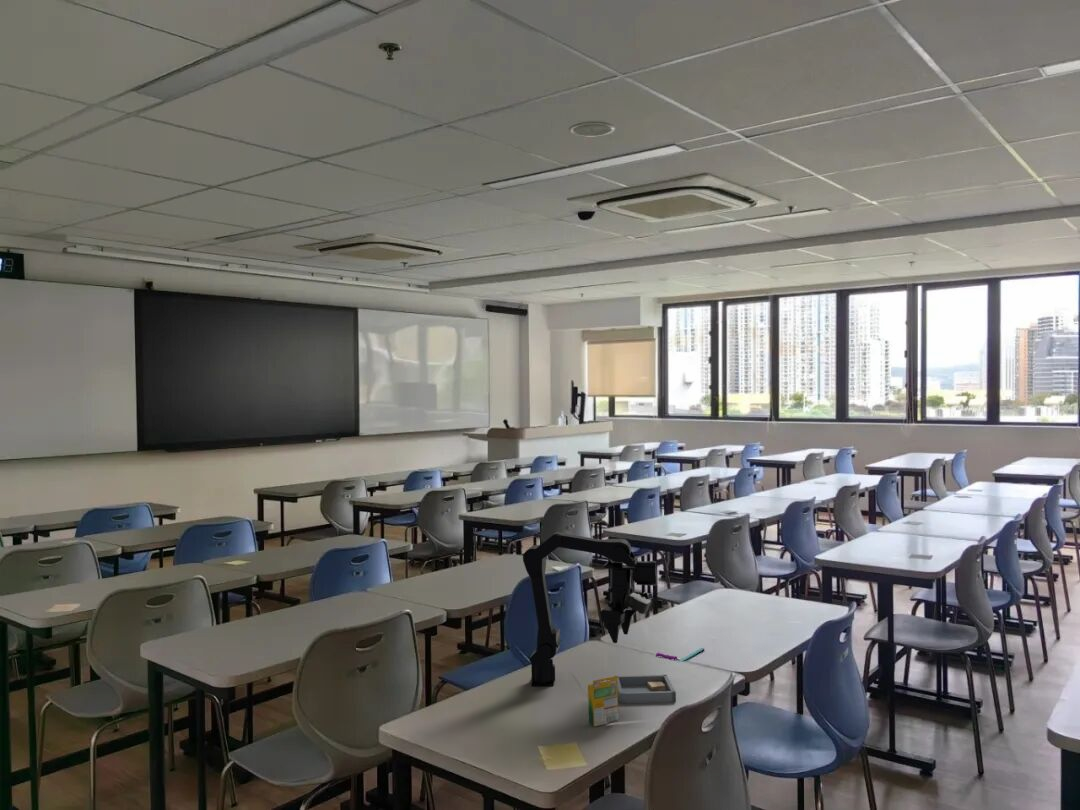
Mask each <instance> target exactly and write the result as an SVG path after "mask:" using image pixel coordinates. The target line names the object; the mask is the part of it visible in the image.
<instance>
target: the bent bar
mask: <svg viewBox="0 0 1080 810" xmlns="http://www.w3.org/2000/svg"><path fill="white" fill-rule="evenodd" d="M699 652H700V653H701V652H705V648H704V647H700V648H699V649H697V650H696V651H694V652H692V653H690V654H689V655H687V656H684V657H681V658H678V656H675V655H669V654H663V653H661V652H656V655H655V657H657V656H662V657H666V658H665V659H667V658H670V659H669V660H671V659H674V660H673V661H677V663H682V662H685V661H687V660H689V659H691V658H692V657H693V656H696V655H698V654H700V653H699ZM697 653H698V654H697ZM662 657H661V658H662ZM675 659H677V660H675Z"/></svg>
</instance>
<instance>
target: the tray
mask: <svg viewBox="0 0 1080 810" xmlns="http://www.w3.org/2000/svg"><path fill="white" fill-rule="evenodd" d="M615 676H617V689H618V702H619V703H620V704H642V703H643V704H645V703H647V704H648V703H649V704H651V703H676V702H677V698H676V697H677V695H676V693H677V692H676V690H675V689H674V687H673V684H672V683H671V680H670V679H669V677H668V674H648V675H647V674H645V675H644V674H642V675H641V674H639V675H614V676H613V677H615ZM653 681H662V682H663V683H664V684H665V685H666V690H660V691H651V689H650V688H649V687H648V686H647V682H653Z"/></svg>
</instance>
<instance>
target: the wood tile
mask: <svg viewBox="0 0 1080 810" xmlns="http://www.w3.org/2000/svg"><path fill="white" fill-rule="evenodd" d="M647 686H648V687H649V688H650V689H651V691H660V690H666V685H665V684H664V683H663V682H662V681H653V682H647Z"/></svg>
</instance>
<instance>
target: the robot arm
mask: <svg viewBox="0 0 1080 810" xmlns="http://www.w3.org/2000/svg"><path fill="white" fill-rule="evenodd" d="M558 548H563V549H569V550H574V551H579V552H585V553H590V554H596V555H599V556H601V557H604V558H606V559H608V561H607V562H606V563H604V566H603V568H604V569H607V570H610V587H608V588H607V589H608V590H607V591H608V593H610V601H609V602H608V603H607V604H608V605H607V606H606V607H605V608H603V609H602V610H601V611H600V612H599V620H600V621H601V623H603V624H604V626H605V628H606V630H607V632H608V634H609V636H610V638H611V641H612V644H617V643H618V641H619V635H620V634H619V633H620V626H621V630H622V633H623V635H627V636H628V634H629V631H630V627H631V623H632V619H633V616H634V615H635V614H636V613H637V612H638V613H639V614H641V615H644V614H646V613H647V612H648V611H649V608H650V605H652V599H651V597H650V593H649V592H647V591H644V592H642V593H641V594H640V593H636V592H635V589H634V586H631V583H632V581H633V582H634V583H635V584H636V585H637V586H655V587H656V586H657V581H658V571H657V561H656V560H650V561H647V560H645V561H644V560H643V561H642V560H641V561H639V560H638V558H637V557H636V555H635V554H634V553H633V551H632V546H631V543H630V542H629V541H628V540H627V539H625V538H605V539H604V538H603V539H601V538H598V539H597V538H594V537H593V538H592V537H586V536H581V535H575V534H570V533H564V532H561V531H555V532H554V533H553V534H551V536H550V537H548V538H547V539H545V540H544V541H543V542H542V543H540V544H534V545H531V546H529V548H527V549H526V551H525V552H524V553H523V555H522V562H523V565H524V568H525V570H526V573H527V575H528V577H529V579H530V583H531V589H532V595H533V601H534V609H535V616H536V622H537V635H536V647H535V649H534V650H533V652H532V654H530V657H529V658H528V659H529V662H530V664H531V666H530V667H531V669H530V670H531V677H530V679H531V680H530V682H531V683H530V684H531V685H530V686H532V687H539V686H542V687H543V686H545V687H546V686H548V687H549V686H554V685H555V682H556V665H555V664H554V661H553V658H554V657H555V656H556V654H557V653H558V650H559V649H560V646H561V643H562V641H563V640H562V638H561V633H560V632H561V629H560V627H557V628H556V627H555V626H554V624H553V620H552V613H551V607H550V601H549V595H548V594H549V593H548V588H547V587H548V586H547V582H546V569H547V556H548V555H550V554H551V553H553V552H554V551H555V550H557V549H558ZM631 570H632V571H631ZM631 574H632V575H631ZM631 576H632V579H631ZM631 580H632V581H631Z"/></svg>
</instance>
